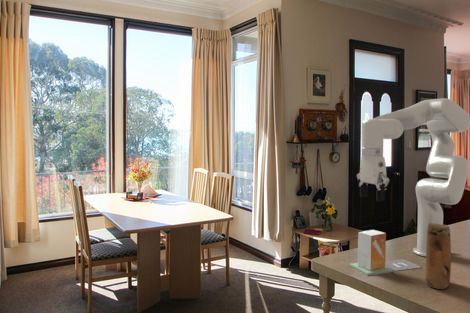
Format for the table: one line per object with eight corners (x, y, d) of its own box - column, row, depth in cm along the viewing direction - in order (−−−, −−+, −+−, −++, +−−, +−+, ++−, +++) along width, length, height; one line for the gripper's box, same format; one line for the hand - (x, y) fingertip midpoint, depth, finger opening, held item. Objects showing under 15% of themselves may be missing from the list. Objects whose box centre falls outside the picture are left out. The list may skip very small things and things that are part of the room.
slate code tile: (403, 259, 156) (403, 259, 156) (422, 267, 147) (422, 267, 147) (377, 262, 153) (377, 262, 153) (395, 271, 143) (395, 270, 143)
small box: (370, 271, 141) (371, 235, 140) (357, 266, 147) (357, 231, 146) (385, 267, 145) (386, 232, 144) (372, 262, 151) (372, 229, 150)
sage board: (373, 262, 153) (373, 260, 153) (393, 272, 142) (393, 269, 142) (349, 265, 150) (349, 263, 149) (367, 275, 139) (367, 273, 139)
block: (425, 277, 137) (427, 221, 136) (450, 281, 133) (451, 223, 132) (424, 288, 127) (425, 227, 126) (450, 292, 124) (451, 230, 123)
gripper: (397, 153, 137) (396, 202, 138) (366, 151, 153) (365, 195, 154) (379, 154, 134) (378, 203, 135) (349, 152, 151) (349, 196, 152)
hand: (371, 199), depth 145 cm, fingers open, 9 cm apart
